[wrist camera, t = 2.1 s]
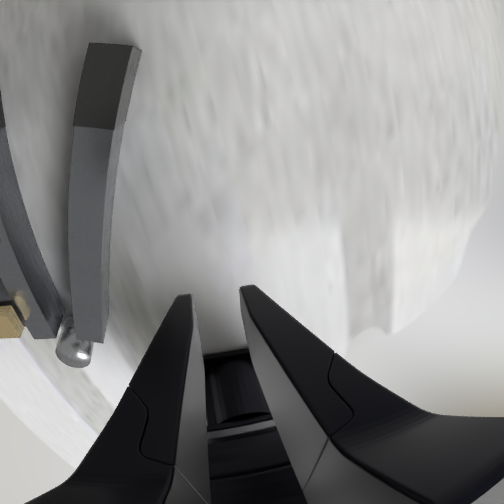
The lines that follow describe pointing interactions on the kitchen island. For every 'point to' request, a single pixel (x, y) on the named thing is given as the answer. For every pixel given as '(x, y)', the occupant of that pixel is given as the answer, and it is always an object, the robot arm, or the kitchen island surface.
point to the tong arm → (94, 193)
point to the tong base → (23, 257)
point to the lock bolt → (9, 323)
